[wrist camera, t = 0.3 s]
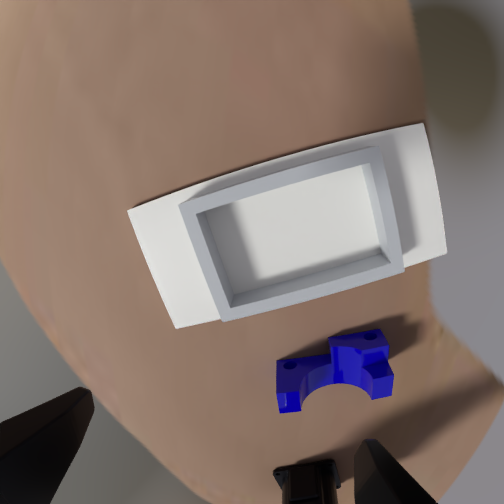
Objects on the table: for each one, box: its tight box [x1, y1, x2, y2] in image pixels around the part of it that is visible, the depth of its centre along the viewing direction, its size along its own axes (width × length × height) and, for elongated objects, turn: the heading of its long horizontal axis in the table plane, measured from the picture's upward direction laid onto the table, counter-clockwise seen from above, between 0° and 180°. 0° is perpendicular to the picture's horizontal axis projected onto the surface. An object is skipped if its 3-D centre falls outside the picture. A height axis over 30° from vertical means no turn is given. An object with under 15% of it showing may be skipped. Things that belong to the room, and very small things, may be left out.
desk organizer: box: [127, 123, 447, 329], centre depth 19 cm, size 9×20×3 cm, turn 108°
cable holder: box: [276, 329, 394, 413], centre depth 21 cm, size 8×4×4 cm, turn 99°
